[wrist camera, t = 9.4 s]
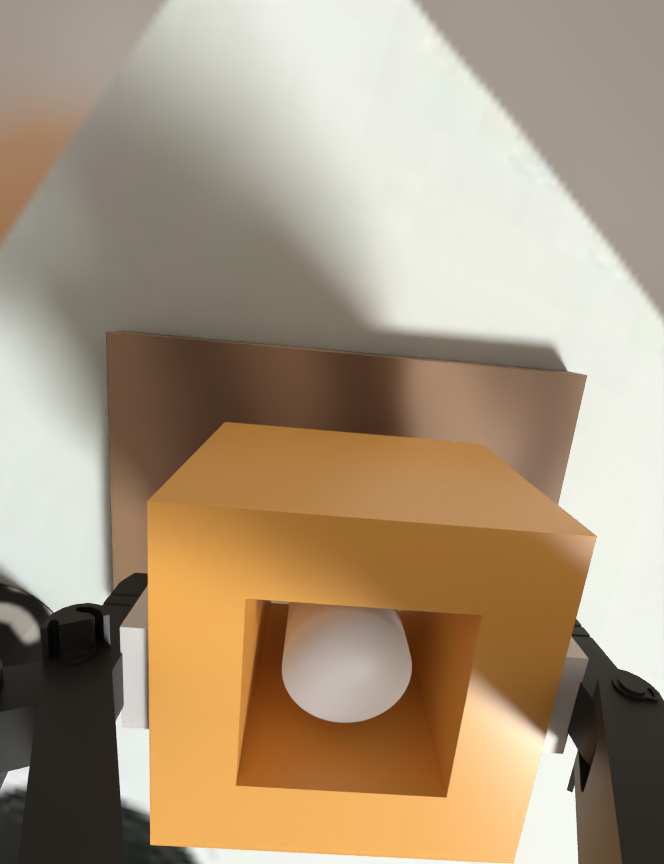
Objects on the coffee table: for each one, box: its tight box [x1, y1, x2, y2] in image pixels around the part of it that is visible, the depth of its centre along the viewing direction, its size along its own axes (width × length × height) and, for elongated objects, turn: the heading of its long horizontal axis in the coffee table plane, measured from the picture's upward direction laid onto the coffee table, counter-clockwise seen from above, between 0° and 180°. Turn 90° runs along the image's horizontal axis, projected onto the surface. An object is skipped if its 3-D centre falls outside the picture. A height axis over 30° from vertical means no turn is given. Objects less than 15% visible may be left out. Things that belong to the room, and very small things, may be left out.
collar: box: [147, 422, 597, 864], centre depth 13 cm, size 9×9×7 cm
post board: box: [106, 331, 587, 723], centre depth 16 cm, size 20×14×11 cm
